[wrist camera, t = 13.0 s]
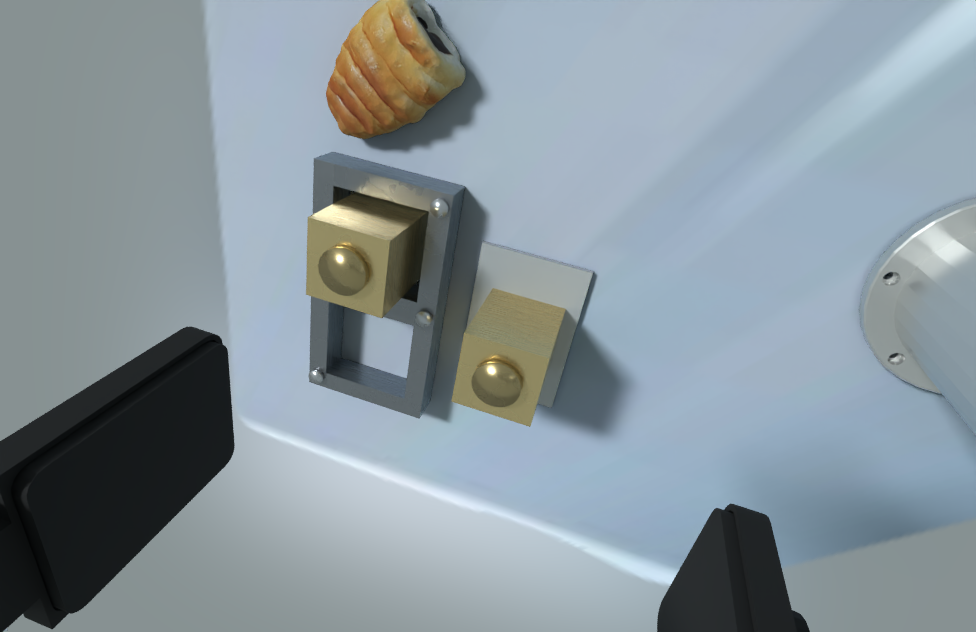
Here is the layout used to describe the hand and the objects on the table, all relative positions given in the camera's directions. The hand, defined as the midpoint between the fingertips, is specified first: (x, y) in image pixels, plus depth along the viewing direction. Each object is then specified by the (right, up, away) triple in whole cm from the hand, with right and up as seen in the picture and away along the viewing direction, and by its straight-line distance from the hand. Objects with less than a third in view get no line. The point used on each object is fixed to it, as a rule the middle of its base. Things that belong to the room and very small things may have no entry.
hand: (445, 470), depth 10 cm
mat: (+3, +2, +31) cm, 31 cm away
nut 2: (+3, +2, +31) cm, 31 cm away
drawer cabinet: (-7, +5, +33) cm, 34 cm away
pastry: (-5, +19, +25) cm, 32 cm away
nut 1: (-6, +9, +30) cm, 32 cm away
